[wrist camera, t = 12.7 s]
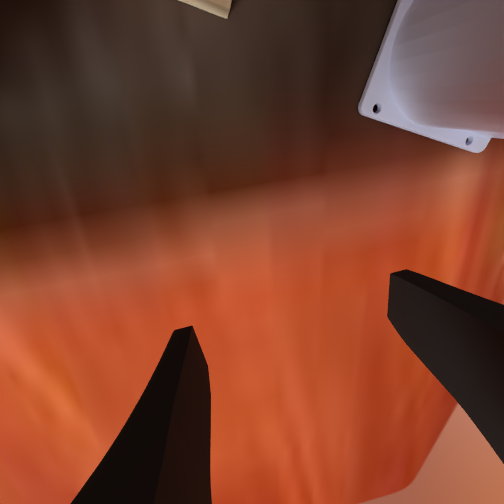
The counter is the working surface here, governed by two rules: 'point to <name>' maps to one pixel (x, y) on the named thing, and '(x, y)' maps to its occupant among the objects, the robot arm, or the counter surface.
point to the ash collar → (212, 6)
